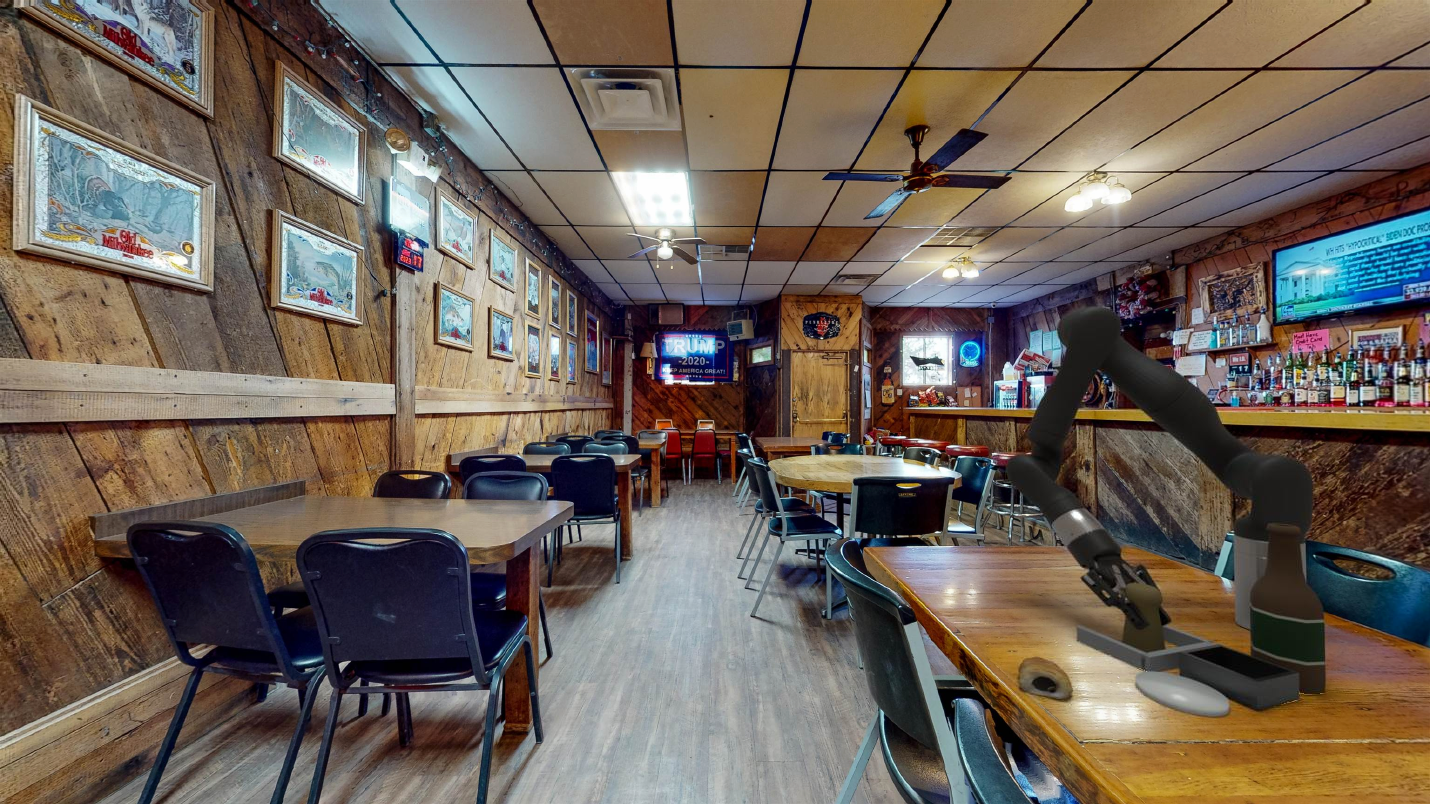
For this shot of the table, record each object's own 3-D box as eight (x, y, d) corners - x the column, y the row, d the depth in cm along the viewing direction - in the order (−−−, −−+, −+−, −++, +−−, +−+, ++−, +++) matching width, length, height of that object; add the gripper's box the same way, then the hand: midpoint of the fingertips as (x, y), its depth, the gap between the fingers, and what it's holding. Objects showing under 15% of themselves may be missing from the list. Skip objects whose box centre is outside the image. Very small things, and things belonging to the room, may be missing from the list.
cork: (1175, 658, 84) (1174, 592, 84) (1134, 655, 85) (1133, 589, 85) (1152, 642, 90) (1151, 580, 90) (1113, 639, 91) (1113, 578, 91)
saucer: (1165, 673, 79) (1165, 667, 79) (1247, 709, 70) (1247, 702, 70) (1118, 683, 76) (1118, 676, 76) (1198, 722, 67) (1197, 714, 67)
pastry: (1017, 665, 82) (1017, 641, 82) (1067, 676, 79) (1067, 652, 79) (1018, 693, 74) (1019, 666, 74) (1074, 707, 71) (1075, 679, 71)
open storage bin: (1219, 669, 81) (1219, 644, 81) (1299, 700, 72) (1299, 672, 72) (1179, 677, 78) (1179, 651, 78) (1257, 711, 69) (1257, 682, 69)
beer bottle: (1317, 702, 71) (1313, 533, 72) (1241, 676, 78) (1238, 522, 79) (1334, 688, 75) (1331, 527, 76) (1260, 665, 82) (1257, 517, 82)
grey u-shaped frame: (1142, 629, 95) (1142, 616, 95) (1219, 659, 84) (1219, 644, 84) (1076, 640, 91) (1076, 626, 91) (1149, 673, 79) (1149, 657, 79)
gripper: (1070, 529, 93) (1142, 621, 81) (1126, 525, 97) (1202, 611, 85) (1044, 550, 98) (1108, 640, 86) (1098, 545, 102) (1167, 630, 90)
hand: (1155, 625), depth 86 cm, fingers closed on cork, 4 cm apart
